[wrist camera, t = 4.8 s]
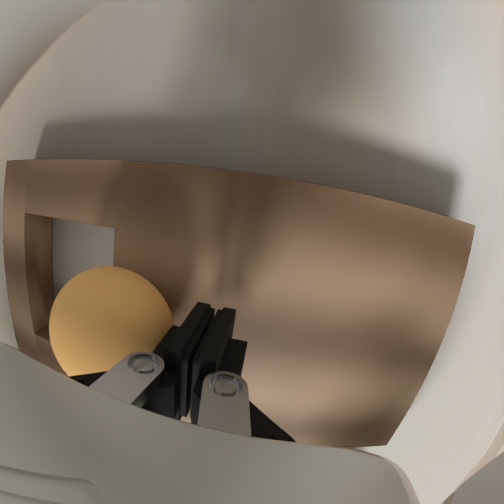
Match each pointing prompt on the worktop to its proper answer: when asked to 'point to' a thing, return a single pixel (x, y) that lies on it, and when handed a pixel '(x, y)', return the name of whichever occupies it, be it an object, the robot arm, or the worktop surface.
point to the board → (259, 279)
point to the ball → (106, 319)
